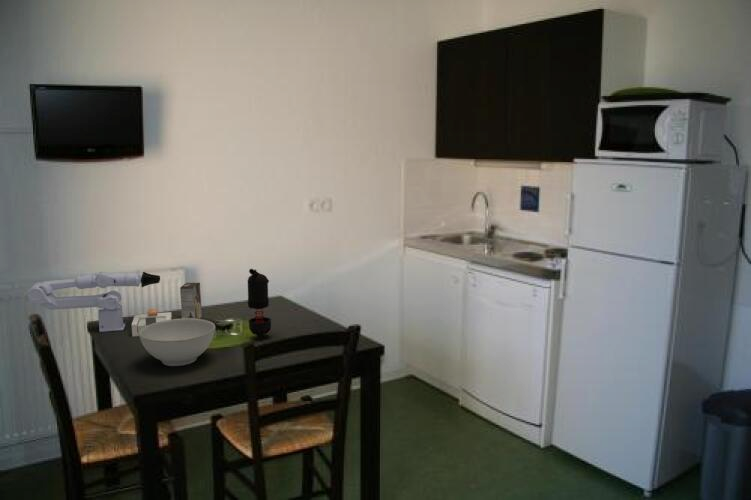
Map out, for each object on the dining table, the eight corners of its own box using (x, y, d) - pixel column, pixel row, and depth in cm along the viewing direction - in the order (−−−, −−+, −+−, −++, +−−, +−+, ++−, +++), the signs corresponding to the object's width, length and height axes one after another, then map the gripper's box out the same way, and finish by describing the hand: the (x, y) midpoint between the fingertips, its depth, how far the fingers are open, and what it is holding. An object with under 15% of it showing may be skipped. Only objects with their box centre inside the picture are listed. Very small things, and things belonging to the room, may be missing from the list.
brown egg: (147, 322, 268) (146, 312, 267) (148, 319, 272) (147, 309, 272) (158, 321, 269) (157, 311, 269) (158, 318, 274) (158, 308, 273)
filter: (263, 343, 250) (261, 269, 244) (243, 340, 253) (240, 268, 247) (279, 332, 262) (277, 263, 257) (260, 330, 265) (257, 261, 260)
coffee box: (188, 316, 286) (186, 282, 283) (202, 316, 286) (200, 282, 283) (181, 322, 277) (179, 287, 274) (196, 322, 277) (194, 287, 274)
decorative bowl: (189, 343, 250) (187, 314, 247) (231, 358, 233) (230, 327, 231) (126, 361, 229) (124, 330, 227) (167, 380, 213) (165, 346, 210)
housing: (132, 336, 258) (131, 324, 257) (135, 325, 272) (135, 314, 271) (170, 333, 262) (169, 321, 261) (172, 323, 276) (171, 312, 275)
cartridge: (138, 333, 258) (137, 319, 257) (140, 326, 267) (139, 312, 266) (164, 330, 261) (163, 317, 260) (165, 324, 270) (164, 310, 269)
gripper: (124, 271, 259) (159, 271, 263) (127, 268, 273) (160, 268, 277) (124, 288, 259) (159, 288, 263) (127, 284, 273) (160, 284, 277)
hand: (159, 279), depth 270 cm, fingers open, 7 cm apart
